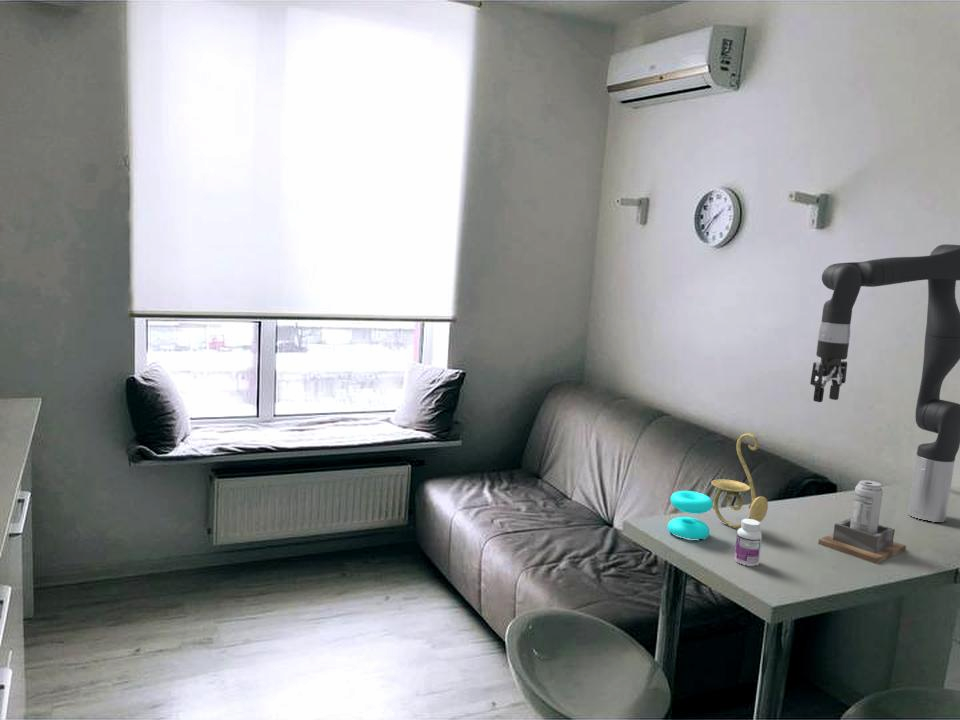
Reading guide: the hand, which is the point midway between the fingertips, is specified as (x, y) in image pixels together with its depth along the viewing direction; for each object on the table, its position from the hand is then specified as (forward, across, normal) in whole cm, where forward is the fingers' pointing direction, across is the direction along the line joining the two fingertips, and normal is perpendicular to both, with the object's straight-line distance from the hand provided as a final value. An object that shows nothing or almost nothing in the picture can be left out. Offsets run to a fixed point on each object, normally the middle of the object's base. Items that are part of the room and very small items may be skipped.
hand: (825, 400), depth 212 cm
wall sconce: (+32, -28, +6) cm, 43 cm away
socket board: (+32, -11, -19) cm, 39 cm away
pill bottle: (+32, -46, -9) cm, 57 cm away
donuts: (+32, -43, +9) cm, 55 cm away
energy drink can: (+31, -11, -19) cm, 38 cm away
